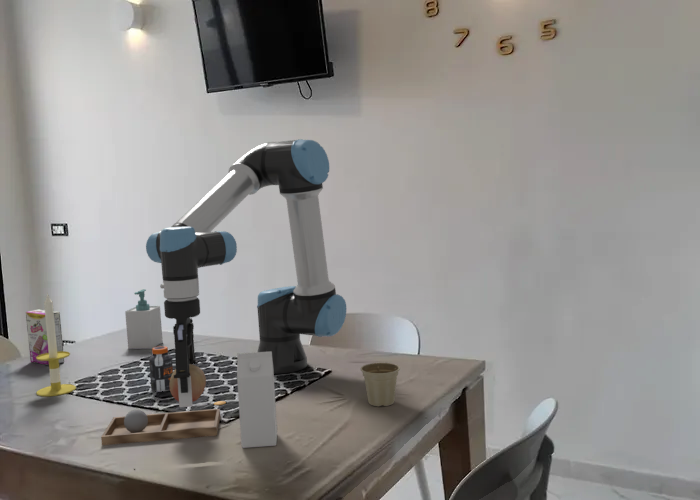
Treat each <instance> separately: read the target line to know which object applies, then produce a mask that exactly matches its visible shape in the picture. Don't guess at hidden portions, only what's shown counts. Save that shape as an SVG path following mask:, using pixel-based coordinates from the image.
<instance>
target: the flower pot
mask: <svg viewBox="0 0 700 500" xmlns="http://www.w3.org/2000/svg"><path fill="white" fill-rule="evenodd" d="M400 370H401V366H400V365H398V364H395V363H391V362H373V363H368V364H364V365H362V366H360V371H361V374H362V377H363V378H364V384H365V390H366V396H367V402H368V404H369V405H371V406H375V407H381V406H384V407H388V406H390V405H391V406H392V405H393V404H394V403H395V399H396V398H395V397H396V389H397V388H396V387H397V378H398V375H399V371H400Z"/></svg>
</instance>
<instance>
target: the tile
mask: <svg viewBox="0 0 700 500" xmlns="http://www.w3.org/2000/svg"><path fill="white" fill-rule="evenodd" d="M225 404H227V402H226V401H224V400H220V401H219V400H218V401H216V402H213V405H215V406H222V405H225ZM207 405H209V403H207V402H199V403H198V402H197V403H196V404H195V405H194V406H195V407H206V406H207Z"/></svg>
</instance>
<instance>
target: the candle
mask: <svg viewBox="0 0 700 500" xmlns="http://www.w3.org/2000/svg"><path fill="white" fill-rule="evenodd" d="M46 294H47V295H46V298H45V301H44V302H43V303H44V310H45V318H46V329H47V340H48V351H49V353H45V354H41V355H39V356H37V357H36V359H37V360H40V361H49V365H48V367H49V379H50V385H48V386H45V387H43V388H40V389H38V390H37V391H36V395H37V396H39V397H47V398H48V397H58V396H63V395H66V394H69V393H72V392H74V391H76V389H77V387H76V385H74V384H71V383H70V384H68V383H67V384H66V383H62V382H61V371H60V370H61V369H60V364H59V359H62V358H64V359H65V358H68V357H70V355H71V352H69V351H66V350H65V351H64V350H63V351H58V352H57V344H56V333H55V322H54V303H53V301H52V299H51V297H50V295H49V294H48V292H46ZM73 390H74V391H73Z"/></svg>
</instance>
